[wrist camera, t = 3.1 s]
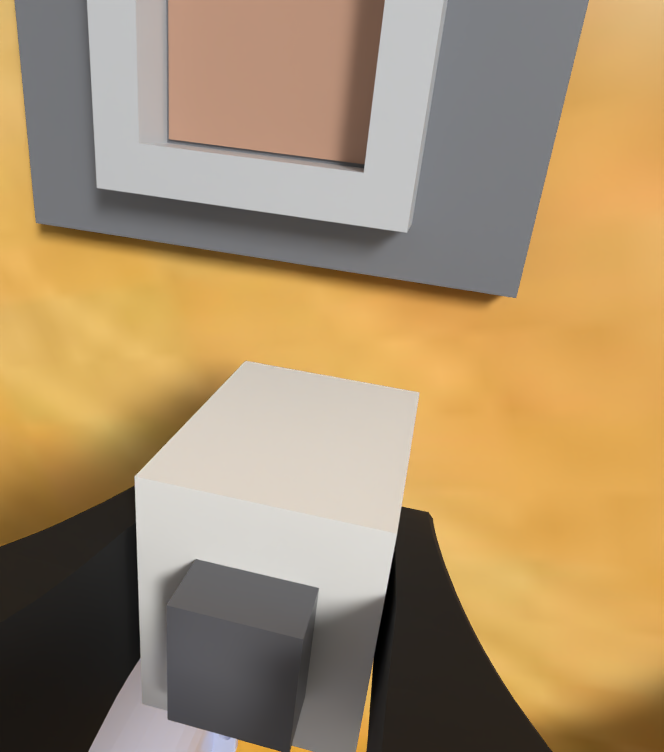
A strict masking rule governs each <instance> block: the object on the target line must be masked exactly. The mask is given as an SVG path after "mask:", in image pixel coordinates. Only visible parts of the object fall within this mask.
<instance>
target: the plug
mask: <svg viewBox="0 0 664 752" xmlns="http://www.w3.org/2000/svg"><path fill="white" fill-rule="evenodd" d="M418 399H419V392H414V391H409V390H403V389H398V388H392V387H387V386H381V385H376V384H370V383H365V382H359V381H354V380H348V379H343V378H337V377H332V376H326V375H321V374H315V373H310V372H304V371H299V370H293V369H288V368H282V367H277V366H271V365H266V364H260V363H255V362H249V361H245V362H244V363H243V364H242V365H241V366H240V367H239V368H238V369H237V370H236V371H235V372H234V373H233V374H232V375H231V377H230V378H229V379H228V380H227V381H226V382H225V383H224V384H223V385H222V386H221V387H220V388H219V389H218V390H217V391H216V392H215V393H214V394H213V395H212V396H211V397H210V398H209V399H208V401H207V402H206V403H205V404H204V405H203V406H202V407H201V408H200V409H199V410H198V411H197V412H196V413H195V414H194V415H193V416H192V417H191V418H190V419H189V420H188V421H187V422H186V423H185V424H184V426H183V427H182V428H181V429H180V430H179V431H178V432H177V433H176V434H175V435H174V436H173V437H172V438H171V439H170V440H169V441H168V442H167V443H166V444H165V445H164V446H163V447H162V448H161V449H160V451H159V452H158V453H157V454H156V455H155V456H154V457H153V458H152V459H151V460H150V461H149V462H148V463H147V464H146V465H145V466H144V467H143V468H142V469H141V470H140V471H139V472H138V473H137V475H136V476H135V504H136V534H137V564H138V595H139V625H140V655H141V685H142V704H144V705H148V706H151V707H155V708H159V709H162V710H166V711H167V718H168V720H170V721H174V722H178V723H181V724H185V725H188V726H192V727H195V728H199V729H203V730H206V731H210V732H213V733H217V734H220V735H224V736H228V737H231V738H235V739H238V740H242V741H245V742H249V743H253V744H256V745H260V746H263V747H267V748H270V749H274V750H278V751H281V752H290V750H291V746H296V747H299V748H303V749H306V750H310V751H314V752H356V748H357V742H358V737H359V732H360V727H361V721H362V716H363V711H364V706H365V700H366V695H367V690H368V684H369V679H370V674H371V669H372V663H373V658H374V653H375V648H376V642H377V637H378V632H379V626H380V621H381V616H382V611H383V605H384V600H385V595H386V590H387V584H388V579H389V574H390V568H391V563H392V558H393V553H394V547H395V542H396V537H397V531H398V525H399V519H400V512H401V506H402V500H403V493H404V487H405V481H406V474H407V468H408V462H409V456H410V449H411V443H412V437H413V430H414V424H415V418H416V411H417V405H418Z"/></svg>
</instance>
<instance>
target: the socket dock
mask: <svg viewBox="0 0 664 752" xmlns="http://www.w3.org/2000/svg"><path fill="white" fill-rule="evenodd" d="M588 1H589V0H15V10H16V20H17V30H18V41H19V51H20V62H21V72H22V83H23V93H24V103H25V114H26V124H27V135H28V145H29V156H30V166H31V176H32V187H33V197H34V208H35V218H36V223H40V224H46V225H53V226H59V227H66V228H72V229H78V230H85V231H91V232H97V233H104V234H110V235H117V236H123V237H129V238H136V239H142V240H149V241H155V242H161V243H168V244H174V245H181V246H187V247H193V248H200V249H206V250H212V251H219V252H225V253H232V254H238V255H244V256H251V257H257V258H264V259H270V260H276V261H283V262H289V263H296V264H302V265H308V266H315V267H321V268H328V269H334V270H340V271H347V272H353V273H359V274H366V275H372V276H379V277H385V278H391V279H398V280H404V281H411V282H417V283H423V284H430V285H436V286H443V287H449V288H455V289H462V290H468V291H475V292H481V293H487V294H494V295H500V296H506V297H513V298H516V296H517V292H518V288H519V284H520V280H521V276H522V272H523V268H524V264H525V260H526V255H527V251H528V247H529V243H530V239H531V235H532V231H533V227H534V223H535V219H536V214H537V210H538V206H539V202H540V198H541V194H542V190H543V186H544V182H545V178H546V174H547V169H548V165H549V161H550V157H551V153H552V149H553V145H554V141H555V137H556V133H557V128H558V124H559V120H560V116H561V112H562V108H563V104H564V100H565V96H566V92H567V87H568V83H569V79H570V75H571V71H572V67H573V63H574V59H575V55H576V51H577V47H578V42H579V38H580V34H581V30H582V26H583V22H584V18H585V14H586V10H587V6H588Z"/></svg>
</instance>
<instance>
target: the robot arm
mask: <svg viewBox="0 0 664 752" xmlns="http://www.w3.org/2000/svg"><path fill="white" fill-rule="evenodd" d="M237 745H238V739H235V738H231V737H228V736H224V735H220V734H217V733H213V732H210V731H206V730H203V729H199V728H195V727H192V726H188V725H185V724H181V723H178V722H174V721H170V720H168V718H167V711H166V710H162V709H159V708H155V707H151V706H148V705H144V704H142V685H141V655H140V625H139V595H138V564H137V534H136V504H135V486H133V487H131V488H129V489H128V490H126V491H124V492H122V493H120V494H118V495H116V496H114V497H113V498H111V499H109V500H107V501H105V502H103V503H101V504H99V505H97V506H95V507H92V508H90V509H88V510H86V511H84V512H82V513H80V514H78V515H76V516H74V517H72V518H69V519H67V520H65V521H63V522H61V523H59V524H57V525H54V526H52V527H50V528H47V529H45V530H43V531H40V532H38V533H35V534H33V535H30V536H28V537H25V538H22V539H20V540H17V541H14V542H12V543H9V544H7V545H4V546H1V547H0V752H235V751H236V749H237ZM366 752H552V751H551V749H550V748H549V747H548V746H547V744H546V743H545V741H544V740H543V739H542V737H541V736H540V735H539V733H538V732H537V730H536V729H535V728H534V726H533V725H532V723H531V722H530V721H529V719H528V718H527V716H526V715H525V714H524V712H523V711H522V710H521V708H520V707H519V705H518V704H517V703H516V701H515V700H514V698H513V697H512V695H511V694H510V692H509V691H508V689H507V687H506V686H505V684H504V683H503V681H502V679H501V678H500V676H499V675H498V673H497V672H496V670H495V668H494V666H493V665H492V663H491V661H490V660H489V658H488V656H487V654H486V653H485V651H484V649H483V647H482V645H481V644H480V642H479V640H478V638H477V636H476V634H475V632H474V630H473V628H472V626H471V624H470V622H469V620H468V618H467V616H466V614H465V612H464V610H463V607H462V605H461V603H460V601H459V598H458V596H457V594H456V591H455V589H454V586H453V584H452V581H451V579H450V576H449V574H448V571H447V569H446V566H445V563H444V560H443V557H442V554H441V551H440V548H439V544H438V541H437V537H436V533H435V529H434V524H433V518H432V517H431V515H430V514H429V512H424V511H420V510H415V509H410V508H406V507H401V512H400V519H399V525H398V531H397V537H396V542H395V547H394V553H393V558H392V563H391V568H390V574H389V579H388V584H387V590H386V595H385V600H384V605H383V611H382V616H381V621H380V626H379V632H378V637H377V642H376V648H375V653H374V660H373V674H372V688H371V702H370V716H369V730H368V742H367V751H366Z"/></svg>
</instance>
